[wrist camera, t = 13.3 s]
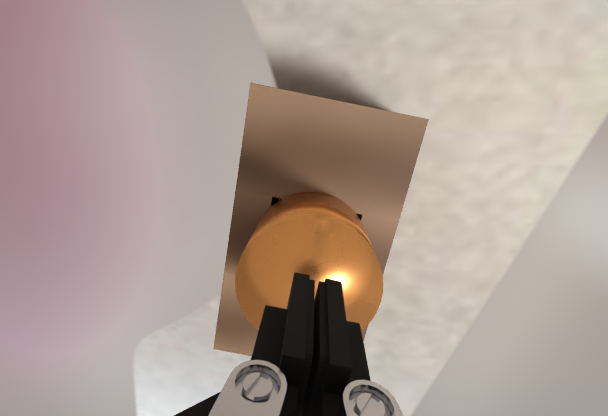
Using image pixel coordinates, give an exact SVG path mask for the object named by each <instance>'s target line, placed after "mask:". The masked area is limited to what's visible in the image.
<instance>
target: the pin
mask: <svg viewBox="0 0 608 416" xmlns="http://www.w3.org/2000/svg"><path fill="white" fill-rule="evenodd" d="M294 272H297V273H302V274H307V275H310V277H309V279H311V280H315V295H314V300H315V296H316V291H317V287H318V283H319V281H321V282H325V279H326V278H327V279H333V280H338V281H341V282H342V289H343V297H344V305H345V313H346V321H351V322H356V323H359V324H360V327H361V331H362V330H363V329H364V328H365V327H366V326H367V325H368V324H369V323H370V321H371V320H372V319H373V317H374V316H375V314H376V312H377V310H378V308H379V305H380V302H381V298H382V294H383V276H382V271H381V267H380V265H379V262H378V259H377V257H376V254H375V252H374V250H373V247H372V245H371V242H370V240H369V238H368V235H367V233H366V230H365V228H364V225H363V223H362V221H361V220H360V218H359V216H358V215H357V214H356V212H355V211H354V210H353V209H352V208H351V207H350V206H349V205H347V204H346V203H345V202H343V201H342V200H340V199H338V198H336V197H334V196H331V195H329V194H325V193H320V192H300V193H295V194H291V195H289V196H286V197H284V198H282V199H280V200H279V201H277V202H276V203H274V204H273V205H272V206H271V207H270V208H269V209H268V210H267V211H266V212H265V213H264V215H263V216H262V217H261V219H260V221H259V223H258V225H257V227H256V229H255V230H254V232H253V234H252V236H251V238H250V240H249V242H248V244H247V246H246V248H245V250H244V252H243V253H242V255H241V257H240V260H239V263H238V265H237V270H236V274H235V291H236V296H237V300H238V303H239V305H240V308H241V310H242V312H243V314H244V315H245V317H246V318H247V320H248V321H249V322H250V323H251V324H252V326H253V327H254V328H255V329H256V330H258V331H259V327H260V323H261V320H262V316H263V312H264V308H265V305H268V306H273V307H279V308H284V309H287V305H288V300H289V295H290V290H291V286H292V281H293V276H294Z"/></svg>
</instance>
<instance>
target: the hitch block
mask: <svg viewBox="0 0 608 416" xmlns="http://www.w3.org/2000/svg"><path fill="white" fill-rule="evenodd" d="M427 123H428V119H425V118H420V117H415V116H410V115H405V114H400V113H395V112H391V111H386V110H381V109H376V108H371V107H366V106H361V105H356V104H352V103H347V102H342V101H337V100H332V99H327V98H322V97H317V96H313V95H308V94H303V93H298V92H293V91H288V90H283V89H279V88H274V87H269V86H264V85H259V84H254V83H251V85H250V92H249V99H248V107H247V113H246V121H245V128H244V136H243V142H242V150H241V156H240V164H239V171H238V179H237V185H236V192H235V200H234V206H233V214H232V221H231V228H230V235H229V243H228V250H227V256H226V263H225V271H224V278H223V285H222V292H221V299H220V306H219V314H218V321H217V328H216V335H215V342H214V349H217V350H222V351H227V352H233V353H238V354H243V355H248V356H252V354H253V350H254V346H255V342H256V338H257V335H258V330H256V329H255V328H254V327H253V326H252V324H251V323H250V322H249V321H248V320H247V318H246V317H245V315H244V314H243V312H242V310H241V308H240V305H239V303H238V300H237V296H236V291H235V274H236V270H237V265H238V263H239V260H240V257H241V255H242V253H243V252H244V250H245V248H246V246H247V244H248V242H249V240H250V238H251V236H252V234H253V232H254V230H255V229H256V227H257V225H258V223H259V221H260V219H261V217H262V216H263V215H264V213H265V212H266V211H267V210H268V209H269V208H270V207H271V206H272V205H273V204H274V203H276V202H277V201H279V198H281V199H282V198H284V197H286V196H289V195H291V194H295V193H300V192H320V193H325V194H329V195H331V196H334V197H336V198H338V199H340V200H342V201H343V202H345V203H346V204H347V205H349V206H350V207H351V208H352V209H353V210H354V211H355V212H356V214H357V215H358V216H359V218H360V220H361V221H362V223H363V225H364V228H365V230H366V233H367V235H368V238H369V240H370V242H371V245H372V247H373V250H374V252H375V254H376V257H377V259H378V262H379V265H380V267H381V271H382V276H383V273H384V269H385V266H386V262H387V259H388V256H389V252H390V249H391V245H392V242H393V239H394V235H395V232H396V228H397V225H398V222H399V218H400V215H401V211H402V208H403V205H404V201H405V198H406V194H407V191H408V188H409V184H410V181H411V177H412V174H413V171H414V167H415V164H416V160H417V157H418V153H419V150H420V147H421V143H422V140H423V136H424V133H425V130H426V126H427ZM367 327H368V325H367V326H366V327H365V328H364V329H363V330H362V331H361V332H362V338H363V341H364V337H365V334H366V330H367Z"/></svg>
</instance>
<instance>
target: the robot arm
mask: <svg viewBox="0 0 608 416" xmlns="http://www.w3.org/2000/svg"><path fill="white" fill-rule="evenodd" d="M309 277H310V275H307V274H302V273H297V272H294V276H293V281H292V286H291V290H290V295H289V300H288V305H287V309H284V308H279V307H273V306H268V305H265V308H264V312H263V316H262V320H261V323H260V327H259V331H258V335H257V338H256V342H255V346H254V350H253V354H252V357H251V360H249V361H246V362H243V363H241V364H240V365H238V366H237V367H235V369H234V370H233V371H232V372H231V374H230V376H229V378H228V379H227V381H226V383H225V385H224V387H223V389H222V391H221V392H219V393H217V394H215V395H213V396H211V397H209V398H208V399H206V400H204V401H202V402H200V403H198V404H196V405H194V406H192V407H190V408H188V409H186V410H184V411H182V412H180V413H178V414H176V415H174V416H403V414H402V412H401V410H400V407H399V405H398V403H397V401H396V400H395V398H394V397H393V396H392V395H391V393H390V392H389V391H388V390H386V389H385V388H384V387H382V386H381V385H379V384H377V383H374V382H372V381H370V376H369V370H368V365H367V360H366V354H365V349H364V343H363V338H362V332H361V327H360V324H359V323H356V322H351V321H346V313H345V305H344V297H343V289H342V282H341V281H338V280H333V279H327V278H326V279H325V282H321V281H319V283H318V287H317V291H316V296H315V300H314V295H315V280H311V279H309Z"/></svg>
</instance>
